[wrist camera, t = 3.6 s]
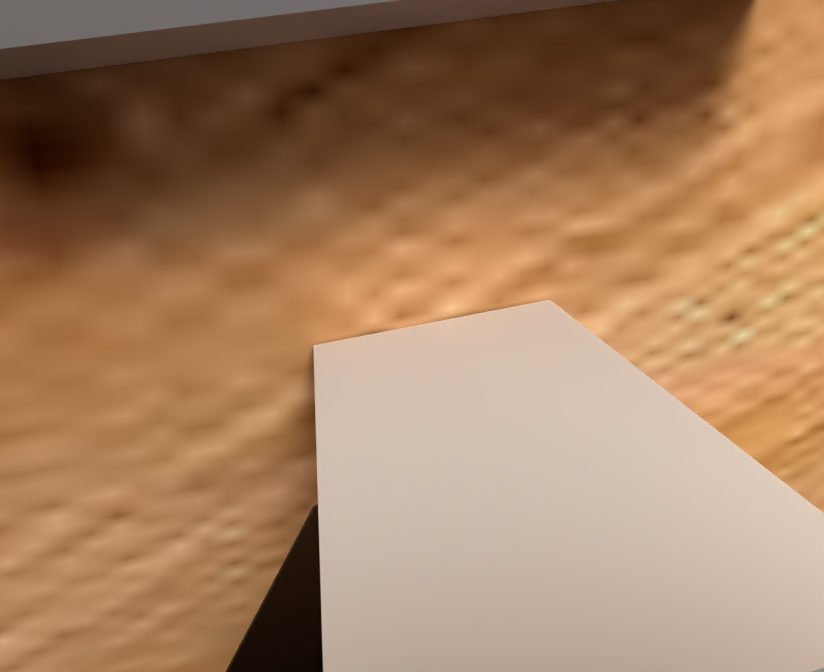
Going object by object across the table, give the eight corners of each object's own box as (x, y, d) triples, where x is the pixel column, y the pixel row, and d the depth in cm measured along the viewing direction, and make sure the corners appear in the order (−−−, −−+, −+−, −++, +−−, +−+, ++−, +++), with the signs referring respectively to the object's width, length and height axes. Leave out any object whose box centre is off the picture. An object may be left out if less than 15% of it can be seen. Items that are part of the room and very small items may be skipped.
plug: (553, 485, 12) (836, 915, 6) (356, 532, 11) (419, 1064, 5) (550, 299, 10) (967, 624, 4) (313, 345, 10) (327, 814, 3)
